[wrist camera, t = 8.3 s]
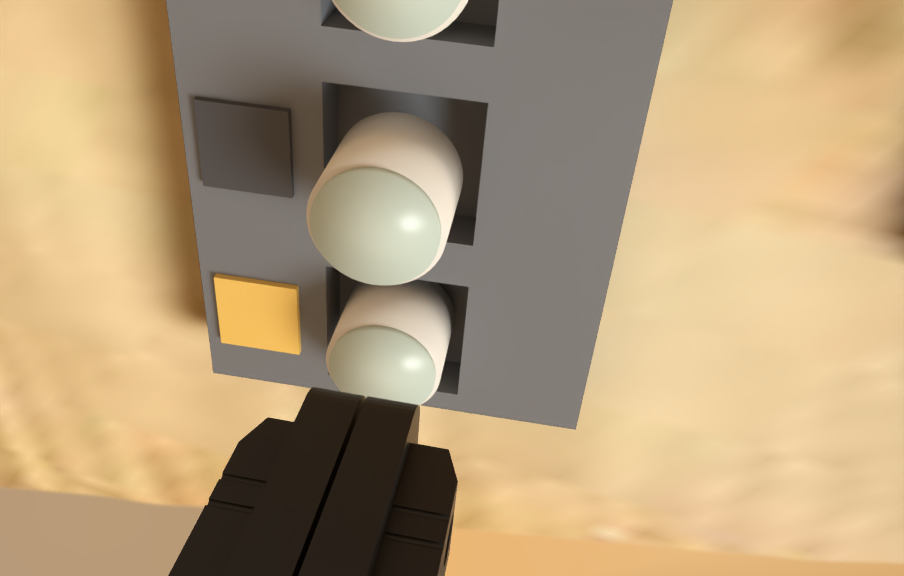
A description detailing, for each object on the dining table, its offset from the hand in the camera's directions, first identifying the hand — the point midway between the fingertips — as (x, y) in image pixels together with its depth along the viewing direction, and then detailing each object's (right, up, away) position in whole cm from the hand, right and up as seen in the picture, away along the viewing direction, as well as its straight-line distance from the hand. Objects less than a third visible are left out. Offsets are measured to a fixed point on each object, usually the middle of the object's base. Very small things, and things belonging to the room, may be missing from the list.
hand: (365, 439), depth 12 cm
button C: (-1, +1, +25) cm, 25 cm away
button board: (0, +8, +22) cm, 23 cm away
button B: (-1, +6, +19) cm, 20 cm away
